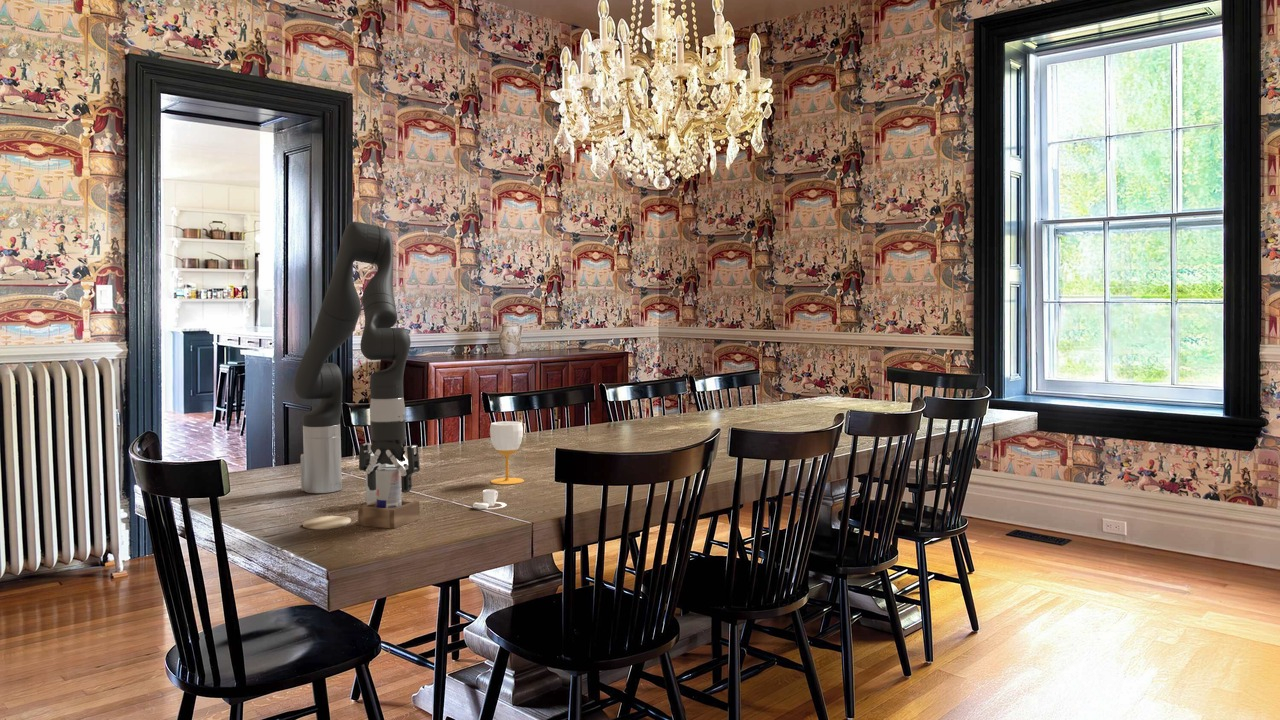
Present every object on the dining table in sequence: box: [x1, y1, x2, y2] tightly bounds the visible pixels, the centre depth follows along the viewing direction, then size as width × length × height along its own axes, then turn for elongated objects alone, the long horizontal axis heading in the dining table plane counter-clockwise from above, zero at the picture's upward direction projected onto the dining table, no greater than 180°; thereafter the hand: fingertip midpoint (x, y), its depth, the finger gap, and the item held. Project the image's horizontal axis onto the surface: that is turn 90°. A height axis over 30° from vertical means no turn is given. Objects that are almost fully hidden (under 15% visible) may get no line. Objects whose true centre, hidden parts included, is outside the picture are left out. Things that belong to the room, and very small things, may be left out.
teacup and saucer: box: [472, 488, 507, 510], centre depth 217 cm, size 9×8×4 cm
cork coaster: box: [302, 515, 352, 530], centre depth 200 cm, size 10×10×1 cm
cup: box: [489, 420, 525, 486], centre depth 247 cm, size 9×9×16 cm
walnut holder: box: [357, 499, 421, 529], centre depth 201 cm, size 9×9×4 cm
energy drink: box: [376, 467, 402, 509], centre depth 201 cm, size 5×5×12 cm
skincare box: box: [364, 453, 395, 504], centre depth 221 cm, size 6×4×12 cm
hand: (389, 491), depth 201 cm, fingers open, 8 cm apart
